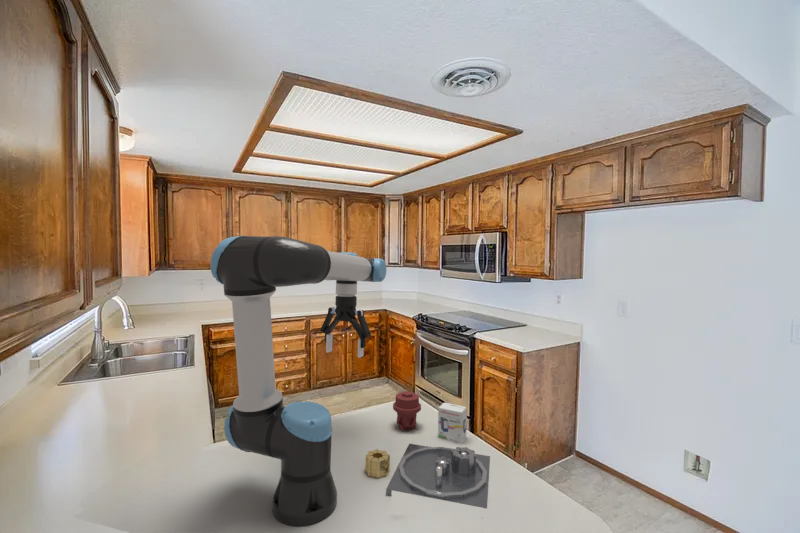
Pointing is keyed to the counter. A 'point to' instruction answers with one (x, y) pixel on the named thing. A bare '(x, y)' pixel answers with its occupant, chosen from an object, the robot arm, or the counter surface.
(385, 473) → the planet gear
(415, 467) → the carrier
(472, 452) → the seated gear
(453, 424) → the ink box
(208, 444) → the counter surface
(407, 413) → the mechanical component
